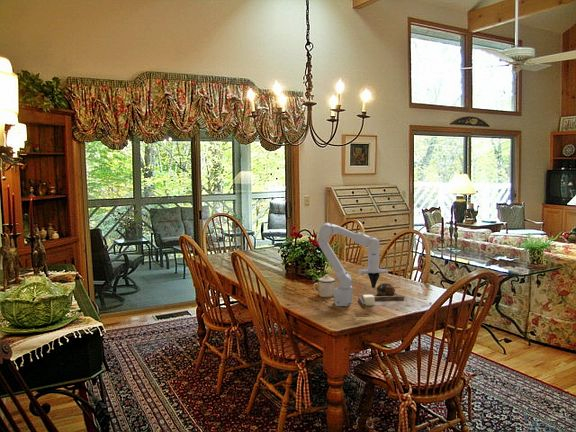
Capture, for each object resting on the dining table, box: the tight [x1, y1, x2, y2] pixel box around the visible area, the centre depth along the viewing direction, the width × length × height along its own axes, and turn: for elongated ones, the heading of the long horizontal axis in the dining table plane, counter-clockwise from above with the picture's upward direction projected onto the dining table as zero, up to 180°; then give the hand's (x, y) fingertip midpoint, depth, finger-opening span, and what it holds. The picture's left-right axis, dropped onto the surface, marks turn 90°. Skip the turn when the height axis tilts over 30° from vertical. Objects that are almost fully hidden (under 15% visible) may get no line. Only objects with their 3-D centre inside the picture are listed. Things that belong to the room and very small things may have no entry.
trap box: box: [357, 295, 411, 309], centre depth 247 cm, size 24×13×4 cm, turn 93°
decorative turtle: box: [376, 282, 396, 296], centre depth 264 cm, size 10×15×8 cm, turn 16°
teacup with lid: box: [313, 274, 336, 298], centre depth 269 cm, size 12×9×12 cm
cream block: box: [362, 294, 376, 306], centre depth 247 cm, size 5×5×4 cm
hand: (373, 287), depth 249 cm, fingers closed
